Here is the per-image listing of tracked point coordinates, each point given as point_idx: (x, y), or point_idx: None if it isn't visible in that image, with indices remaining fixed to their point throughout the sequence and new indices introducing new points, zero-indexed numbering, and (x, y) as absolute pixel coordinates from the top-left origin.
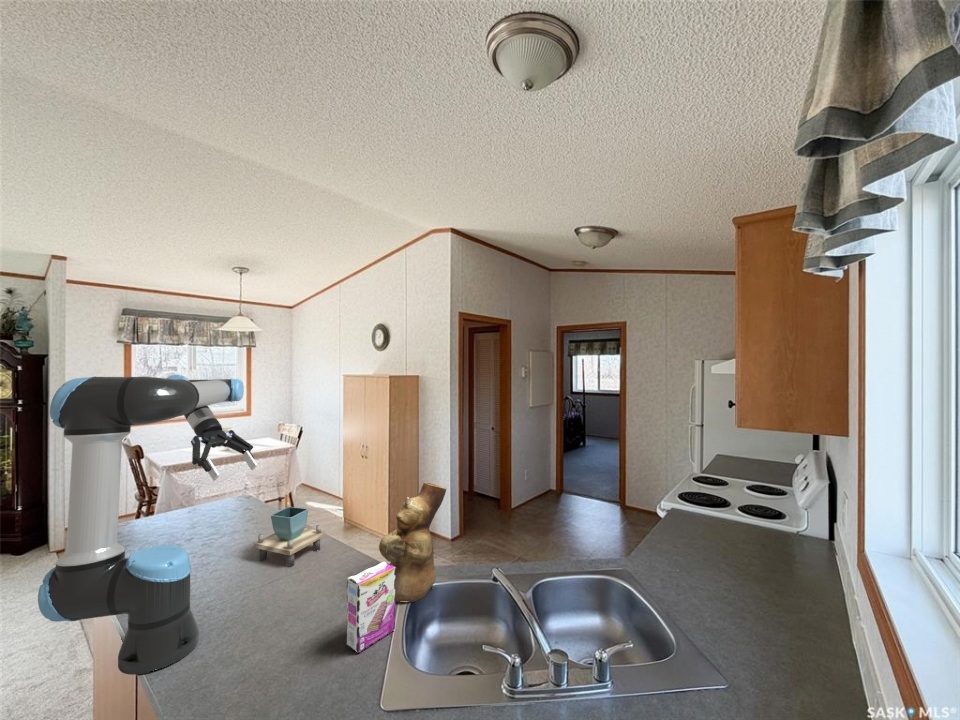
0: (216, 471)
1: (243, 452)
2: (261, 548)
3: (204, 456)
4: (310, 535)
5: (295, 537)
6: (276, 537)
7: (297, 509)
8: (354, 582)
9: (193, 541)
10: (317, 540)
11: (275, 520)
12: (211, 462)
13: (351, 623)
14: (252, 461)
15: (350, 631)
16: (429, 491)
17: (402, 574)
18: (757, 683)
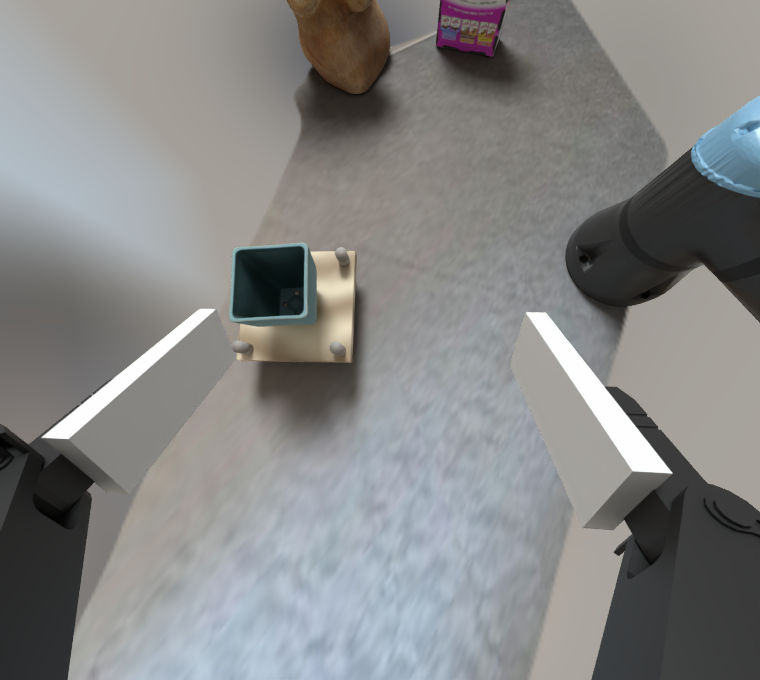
0: (550, 334)
1: (62, 517)
2: (352, 338)
3: (747, 564)
4: None
5: (299, 285)
6: (307, 336)
7: (237, 286)
8: None
9: (325, 620)
10: None
11: (310, 303)
12: (604, 415)
13: (508, 3)
14: (190, 338)
15: (503, 21)
16: None
17: (375, 4)
18: None
